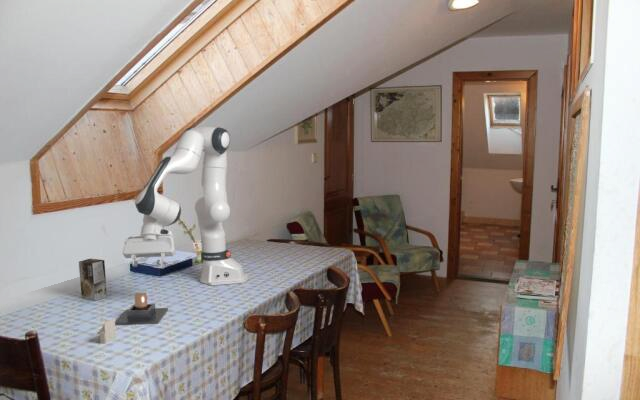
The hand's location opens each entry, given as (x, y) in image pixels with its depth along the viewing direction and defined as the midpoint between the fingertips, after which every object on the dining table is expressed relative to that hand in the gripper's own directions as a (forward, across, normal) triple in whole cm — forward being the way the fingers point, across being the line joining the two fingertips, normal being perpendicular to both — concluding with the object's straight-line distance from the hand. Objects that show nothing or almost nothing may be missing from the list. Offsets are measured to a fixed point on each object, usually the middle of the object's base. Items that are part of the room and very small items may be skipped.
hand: (147, 265), depth 220 cm
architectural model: (+37, -5, -11) cm, 39 cm away
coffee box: (-1, -28, +25) cm, 38 cm away
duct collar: (+20, 0, +5) cm, 20 cm away
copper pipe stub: (+19, 0, +4) cm, 20 cm away
